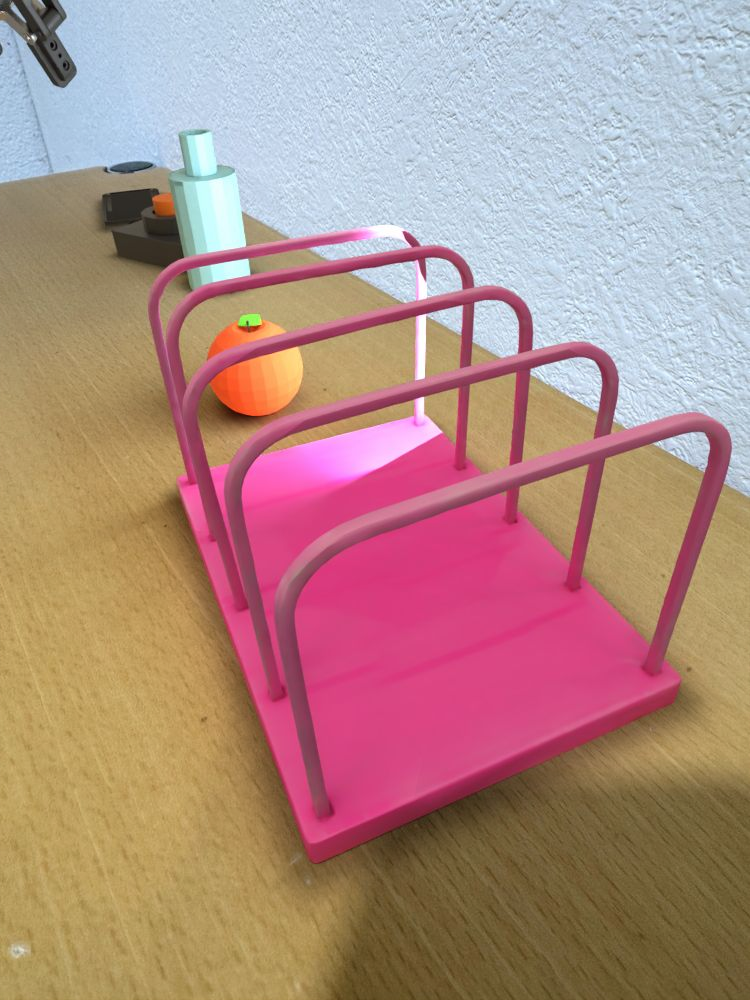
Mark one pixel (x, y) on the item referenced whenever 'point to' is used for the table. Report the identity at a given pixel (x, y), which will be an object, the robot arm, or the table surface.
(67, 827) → the table surface
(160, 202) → the button
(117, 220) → the phone
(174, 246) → the dock
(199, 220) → the mint green bottle
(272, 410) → the clementine
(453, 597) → the file sorter
